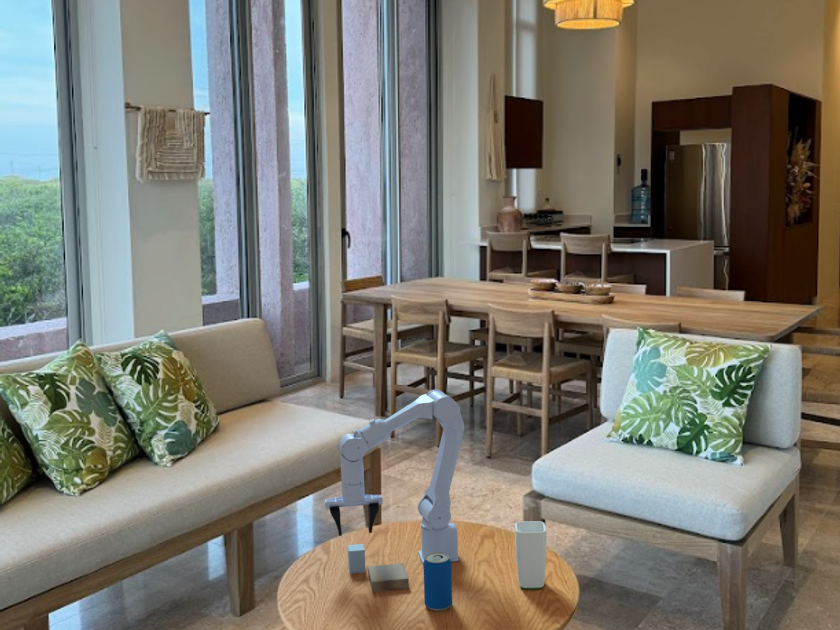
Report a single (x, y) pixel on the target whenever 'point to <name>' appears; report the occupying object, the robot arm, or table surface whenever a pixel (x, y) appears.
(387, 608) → the table surface
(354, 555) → the slate-blue block
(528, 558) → the cup
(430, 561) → the beverage can
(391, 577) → the taupe plinth
